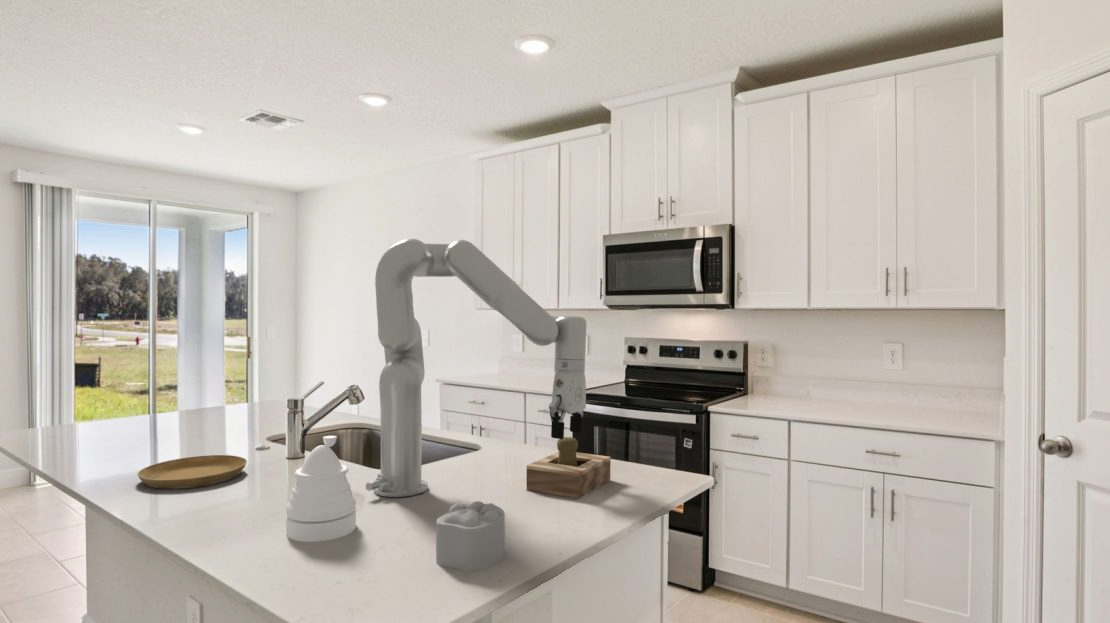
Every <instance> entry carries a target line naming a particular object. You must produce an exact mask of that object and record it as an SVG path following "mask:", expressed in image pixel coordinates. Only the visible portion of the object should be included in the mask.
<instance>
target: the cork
mask: <svg viewBox="0 0 1110 623" xmlns="http://www.w3.org/2000/svg"><path fill="white" fill-rule="evenodd" d="M556 448H557V450H558V452H559V457H558V464H561V465H568V466H575V467H578V466H577V458H576V452H577V451H578V448H579V442H578V440H577V439H576V438H574V437H571V436H569V437H567V436H564V438H563V439H558V440H557V441H556Z"/></svg>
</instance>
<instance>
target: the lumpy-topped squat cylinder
mask: <svg viewBox="0 0 1110 623" xmlns="http://www.w3.org/2000/svg"><path fill="white" fill-rule="evenodd" d="M505 517H506V515H505V510H503V508H501V507H500V506H498V505H496V504H495V503H491V502H490V503H484V502H482V501H480V500H479V501H477V500H476V501H474V502H472V503H470V505H467V506H466V505H462V504H460V503H454V504H452V505H451V506H450V507H449V509H448V511H447V512H446V513H444V514H443V515H441V516H438V518H437V519H436V530H435V531H436V534H435V536H436V537H435V539H436V540H435V543H436V544H435V551H436V552H435V554H436V555H435V563H436V564H437V565H438V566H440V567H444V568H445V567H446V568H451V569H457V570H460V571H463V572H468V573H470V572H472V573H474V572H479V571H483V570H485V569H488V568H489V567H491V566H494V565H495V564H497V563H498V562H499V561H500V560H502V559H503V558H504V557H505V553H506V552H505V551H506V550H505V547H506V546H505V544H506V543H505V542H506V541H505V537H506V534H505V533H506V532H505V531H506V530H505V528H506V522H505V521H506V518H505Z"/></svg>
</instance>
